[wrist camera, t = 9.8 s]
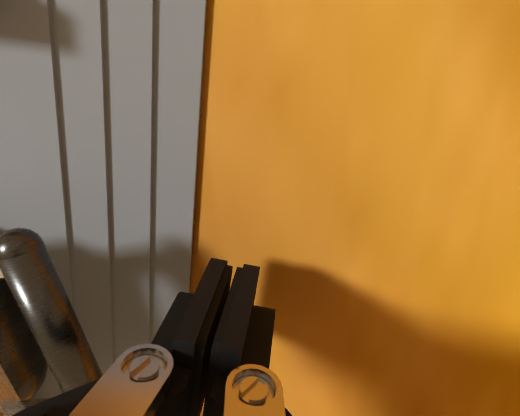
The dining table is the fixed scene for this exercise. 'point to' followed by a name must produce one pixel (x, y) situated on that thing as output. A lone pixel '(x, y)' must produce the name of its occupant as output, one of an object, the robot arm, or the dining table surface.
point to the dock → (104, 154)
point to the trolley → (37, 325)
